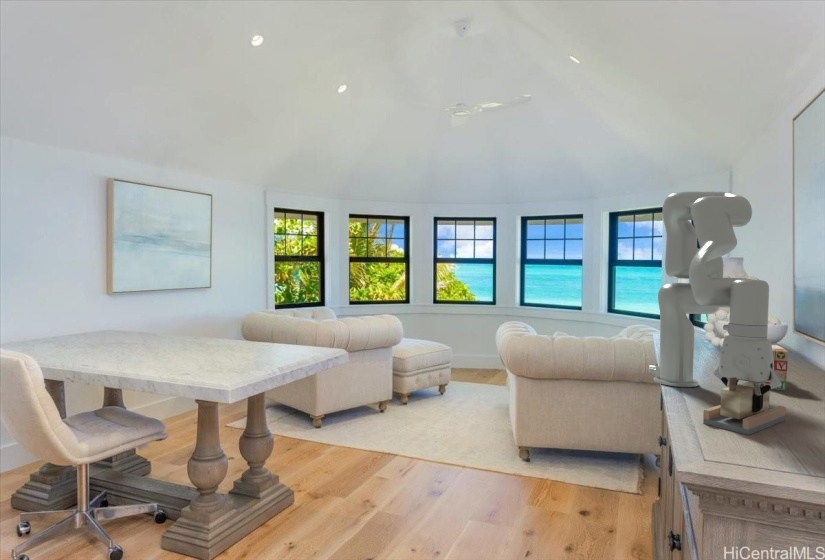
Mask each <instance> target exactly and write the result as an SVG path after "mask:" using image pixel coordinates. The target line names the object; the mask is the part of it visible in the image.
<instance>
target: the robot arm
mask: <svg viewBox="0 0 825 560" xmlns="http://www.w3.org/2000/svg"><path fill="white" fill-rule="evenodd" d="M752 215H753V208H752V205H751V203H750V201H749V200H748V199H747V198H746V197H745V196H742V195H738V194H735V193H731V192H727V191H679V192H674V193H673V192H672V193H670V194H669V195H667V196H666V198H665V199H664V202H663V205H662V219H663V220H662V221H663V224H664V227H665V233H666V241H665V258H664V259H665V262H664V265H665V267H664V268H665V269H664V270H665V273H666V275H667V276H668V277H670V278H672V279H679V280H680V279H683V280H689V282H671V283H666V284H664V285H662V286H661V287H660V288H659V290H658V293H657V300H658V307H659V320H660V321H659V322H660V326H659V330H660V331H659V358H658V361H659V365H657V366H655V365H650V364H649V366H648V369H647V370H648V373H654V374H655V375H654V376H653V382H655V383H658V384H660V385H661V384H662V385H665V386H671V387H679V388H695V387H697V386H699V381H698V380H697V379H694V359H695V358H694V357H695V354H694V353H695V351H694V350H695V327H694V324H693V323H692V321H691V320H690V318H689V317H688V316H687V315H690V314H691V315H692V314H695V315H711V314H715V313H717V312H718V311H719V310H720V308H727V309H729V322H728V323H727V324H723V327H722V329H723V331H727V335H724V338H723V341H722V346H721V350H720V351H721V352H720V356H719V357H720V358H719V366H718V367H717V368H716V369H715V371H714V372H713V375H714V376H715V377H716V378H717V379H719V380H720V381H721V382H722V383H723V385H724V386H725V388H727V387H729V380H730V377H736V385H738V384H739V381H743V382H744V381H745V382H753V384H754V390H755V395H753V397H752V411H753V412H758V411H760V410H761V409H762V408H763V394H765V393H767V392H768V391H771V390H773V388H776V387H779V386H781V385H782V383H781V382H780V380H779V379H778V377H777V375H776V374H775V372H774V359H773V351H772V345H773V344H772V342H771V339H770V338H768V329H769V328H768V325H769V298H770V297H769V296H770V285H769V283H768V281H766V280H764V279H763V280H762V279H751V278H744V277H724V261H723V258H722V257H723V256H726V255H728V254H729V253H731V252H732V251H734V250H735V248H737V245H738V239H737V237H736V233H735V231H734V227H741V228H742V227H744V226H746V225H748V224H749V223H750V221H751V219H752ZM690 221H692V222H690ZM692 223H693V224H692ZM698 244H699V248H698ZM766 381H771V383H770V384H767V385H765V384H764V382H766Z"/></svg>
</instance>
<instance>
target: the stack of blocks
mask: <svg viewBox="0 0 825 560" xmlns="http://www.w3.org/2000/svg"><path fill="white" fill-rule="evenodd" d="M771 345H772V351H773V359H774V372H775V374H776V375H777V377H778V379H779V380H780V382H781V383H782V385H781V386H779V387H776V388H773V389H772V390H775V391H784V392H786V391H787V375H788V374H787V373H788V366H789V365H788V361H789V360H788V358H789V351H788V350H786V349H785V348H784V347H782V346H779V345H778V344H777V345H776V344H771ZM764 383H766V384H770V383H771V381H766V382H764Z"/></svg>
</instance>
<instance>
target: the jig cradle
mask: <svg viewBox="0 0 825 560" xmlns="http://www.w3.org/2000/svg"><path fill="white" fill-rule="evenodd" d="M720 407H721V404H718V405H716V406H713V407H709V408H706V409H703V415H702V416H703V418H702V419H703V420H702V421H703V423H702V424H704V425H707V426H712V427H717V428H719V429H723V430H728V431H731V432H734V433H740V434H743V435H747V436H750V435H753V434H754V433H758V432H759V431H762V430H764V429H767V428H769V427H772V426H774V425H777V424H779V423H782V422H784V421H786V411H787V410H786V409H787V408H786V406H784V405H783V406H782V405H778V406H775V407H773V408H769V409H767V410H764V411H761V412H759V413H756V414H753V415H750V416H747V417H745V418H742V419H736V418H731V417H727V416H723V415H720Z"/></svg>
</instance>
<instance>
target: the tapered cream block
mask: <svg viewBox="0 0 825 560" xmlns="http://www.w3.org/2000/svg"><path fill="white" fill-rule="evenodd" d="M764 384H765V385H767V384H766V383H764ZM770 391H771V390H770ZM770 391H768V392H767V393H765V394H763V408H762V409H761V410H760V411H758V412H753V411H752V397H753V395H755V390H754V384H753V382H749V381H745V382H742V383H740V384H739V383H738V385H736V377H730V380H729V387H724V388H721V389H720V405H721V407H720V415H723V416H727V417H731V418H736V419H742V418H745V417H747V416H750V415H753V414H756V413H759V412H761V411H767V410H770V396H771V394H770V393H771V392H770Z"/></svg>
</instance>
